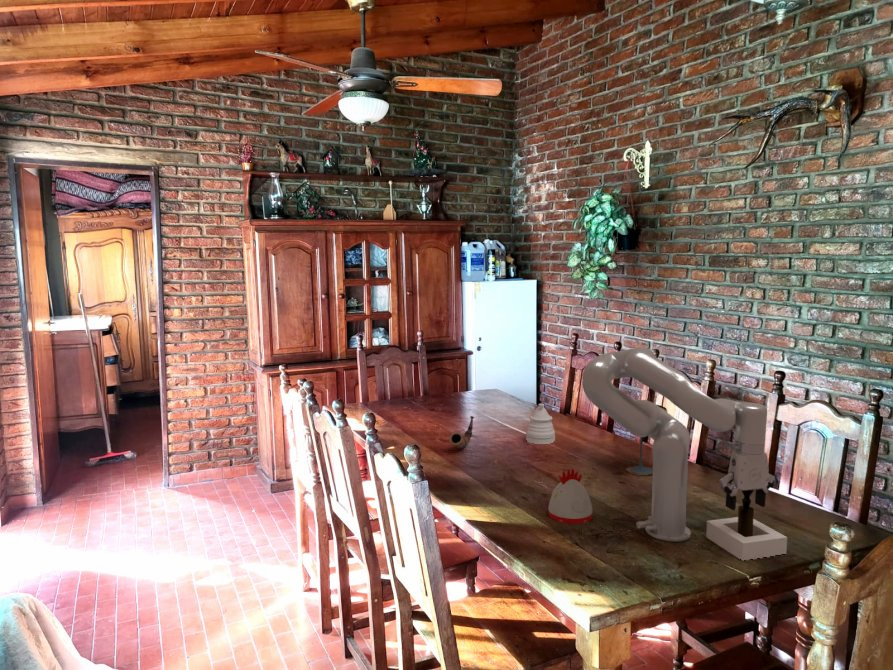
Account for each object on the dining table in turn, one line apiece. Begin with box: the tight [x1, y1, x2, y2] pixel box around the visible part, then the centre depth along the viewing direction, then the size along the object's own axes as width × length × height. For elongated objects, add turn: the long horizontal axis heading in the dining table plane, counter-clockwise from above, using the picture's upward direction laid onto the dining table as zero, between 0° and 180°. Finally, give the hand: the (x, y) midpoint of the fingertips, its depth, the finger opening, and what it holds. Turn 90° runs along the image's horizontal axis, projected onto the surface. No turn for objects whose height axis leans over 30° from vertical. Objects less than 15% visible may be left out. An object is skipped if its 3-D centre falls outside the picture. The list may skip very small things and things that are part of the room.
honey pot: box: [525, 403, 556, 444], centre depth 276 cm, size 13×13×18 cm
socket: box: [705, 516, 788, 562], centre depth 174 cm, size 14×15×5 cm
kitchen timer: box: [547, 468, 593, 525], centre depth 196 cm, size 14×14×15 cm
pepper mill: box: [737, 490, 755, 537], centre depth 174 cm, size 7×6×18 cm
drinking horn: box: [449, 415, 475, 450], centre depth 273 cm, size 5×29×10 cm, turn 163°
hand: (745, 506), depth 173 cm, fingers open, 9 cm apart
